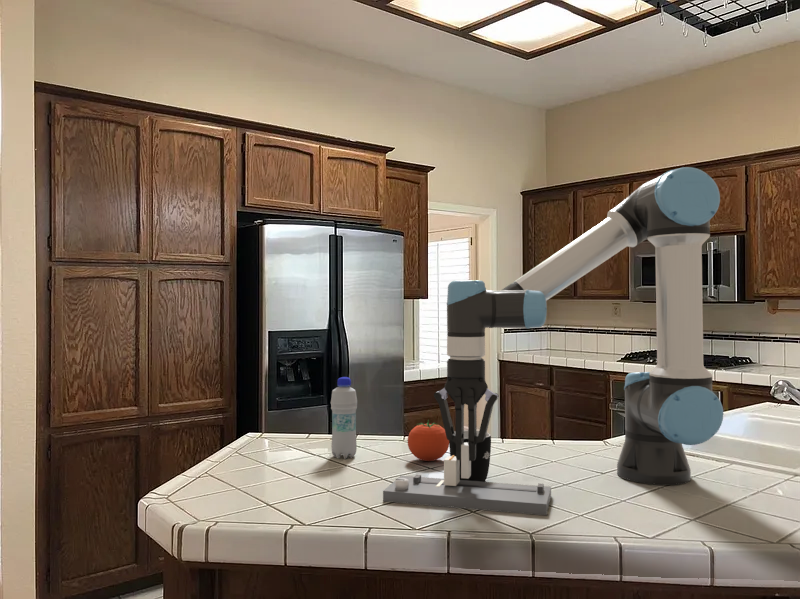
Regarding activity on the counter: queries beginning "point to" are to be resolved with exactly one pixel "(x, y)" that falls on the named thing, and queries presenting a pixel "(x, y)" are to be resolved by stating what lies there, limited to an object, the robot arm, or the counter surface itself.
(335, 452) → the bottle
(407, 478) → the console
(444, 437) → the tomato
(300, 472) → the counter surface
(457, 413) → the robot arm
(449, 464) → the fader tab
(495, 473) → the counter surface
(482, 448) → the mug
